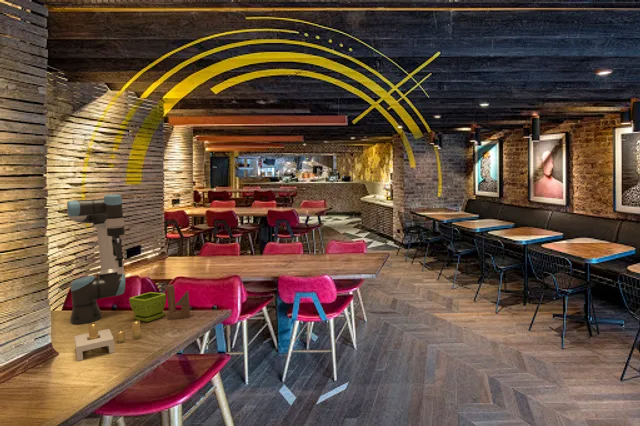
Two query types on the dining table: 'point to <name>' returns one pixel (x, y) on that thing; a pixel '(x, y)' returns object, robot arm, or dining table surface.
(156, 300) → the flower pot
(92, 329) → the pin long
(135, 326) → the pin medium
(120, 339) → the pin short
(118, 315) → the dining table surface
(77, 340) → the white block with hole
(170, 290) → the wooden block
